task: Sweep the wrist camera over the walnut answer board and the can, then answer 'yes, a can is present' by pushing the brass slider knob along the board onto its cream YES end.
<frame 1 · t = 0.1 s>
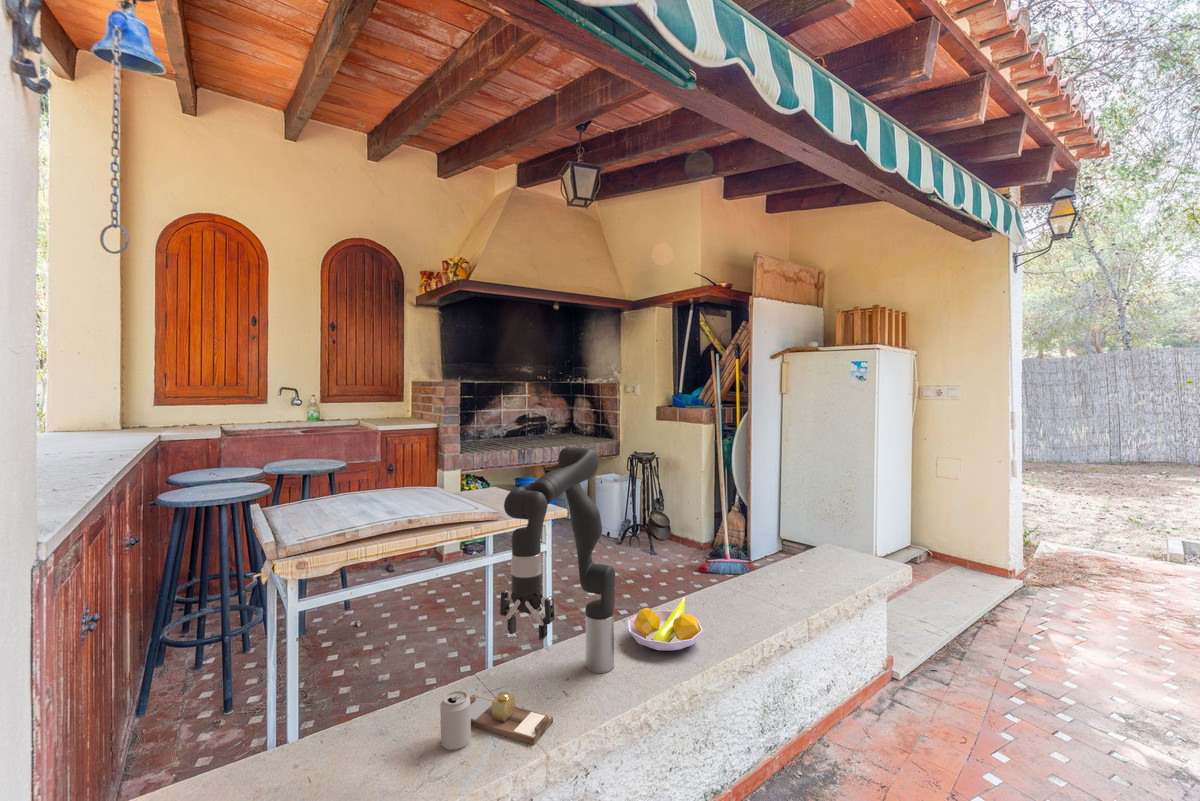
hand: (527, 635, 132), 29 cm above the table, fingers open, 8 cm apart
answer board: (503, 721, 145), on the table
brass knob: (503, 704, 145), point 5 cm above the table, slide at 0.0 cm
can: (455, 743, 137), on the table
fruit bowl: (666, 641, 192), on the table
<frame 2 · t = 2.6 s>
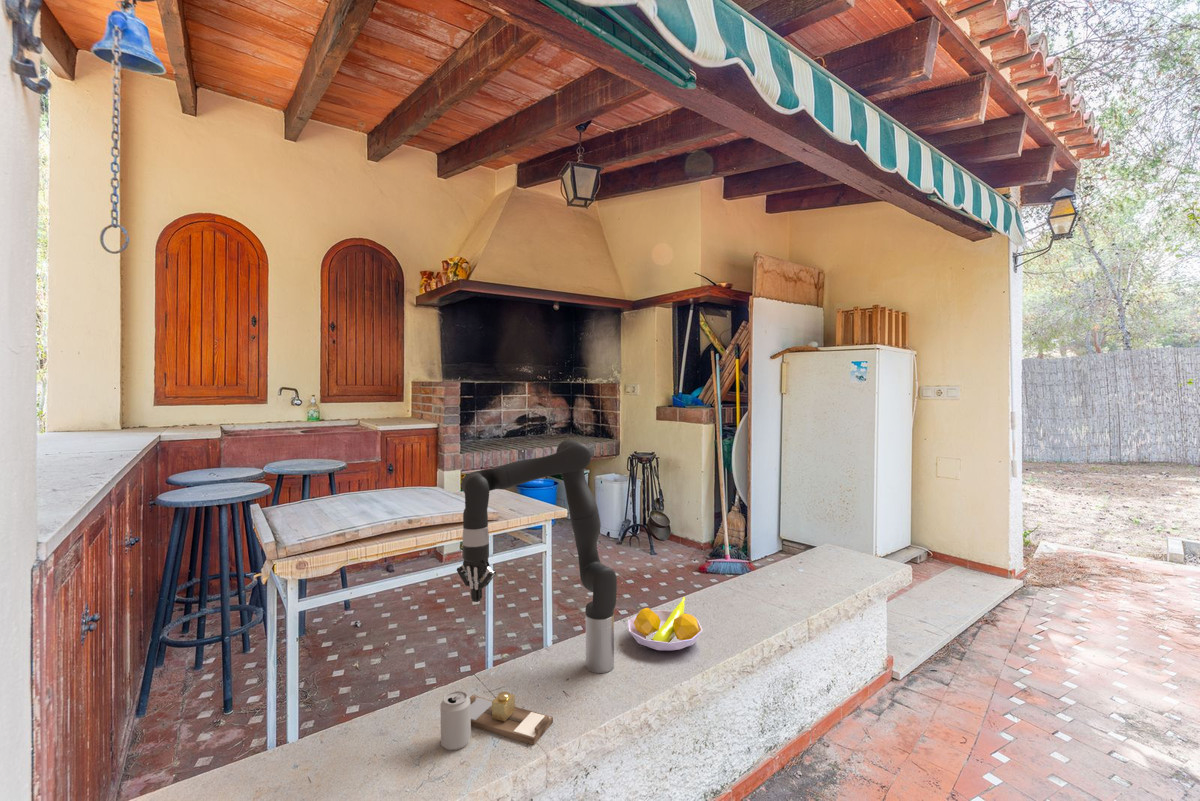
hand: (476, 600, 156), 29 cm above the table, fingers closed
nothing on the table moved.
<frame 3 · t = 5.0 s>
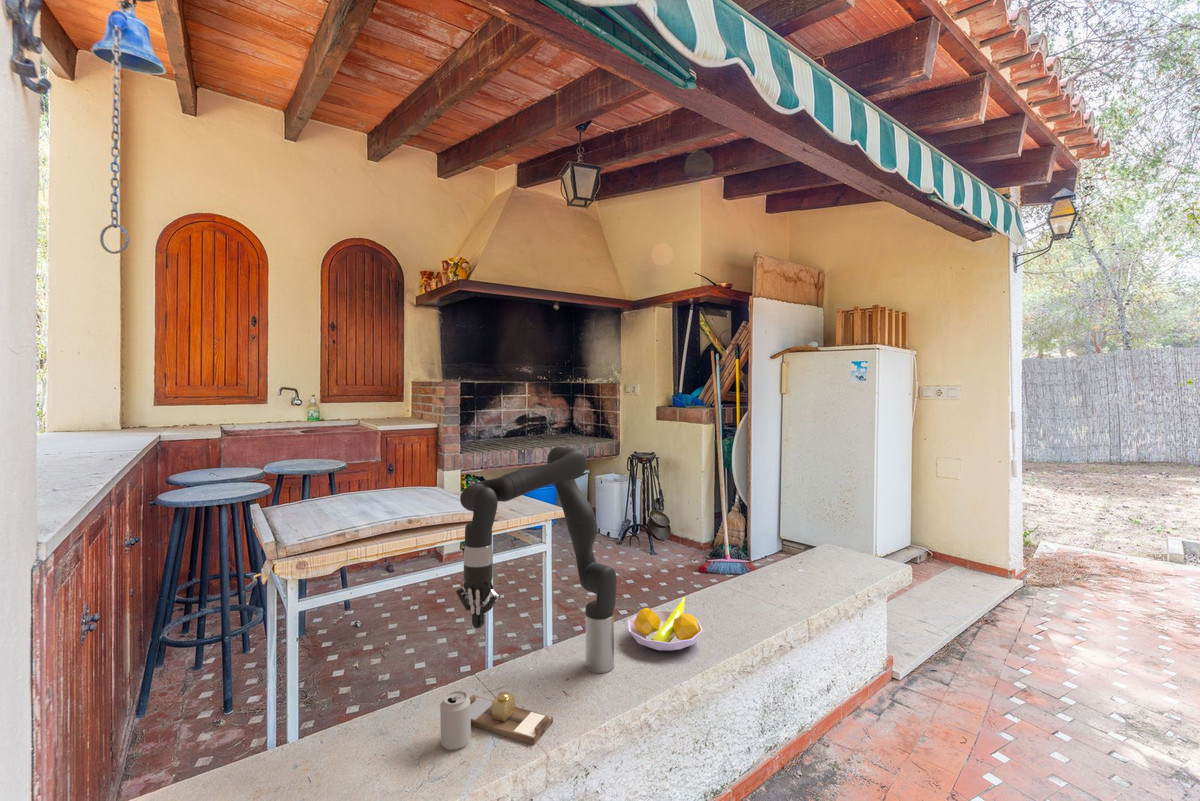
hand: (477, 626, 141), 28 cm above the table, fingers closed
nothing on the table moved.
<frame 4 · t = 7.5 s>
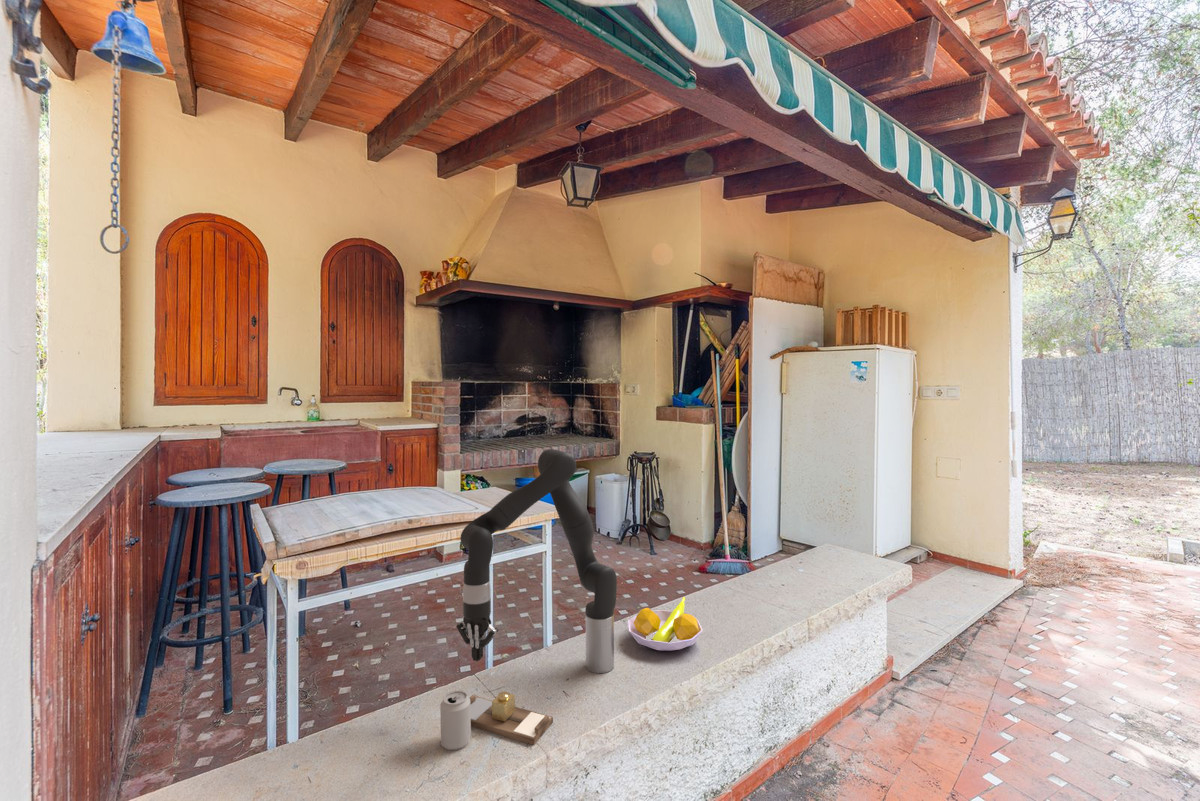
hand: (477, 659, 148), 15 cm above the table, fingers closed
nothing on the table moved.
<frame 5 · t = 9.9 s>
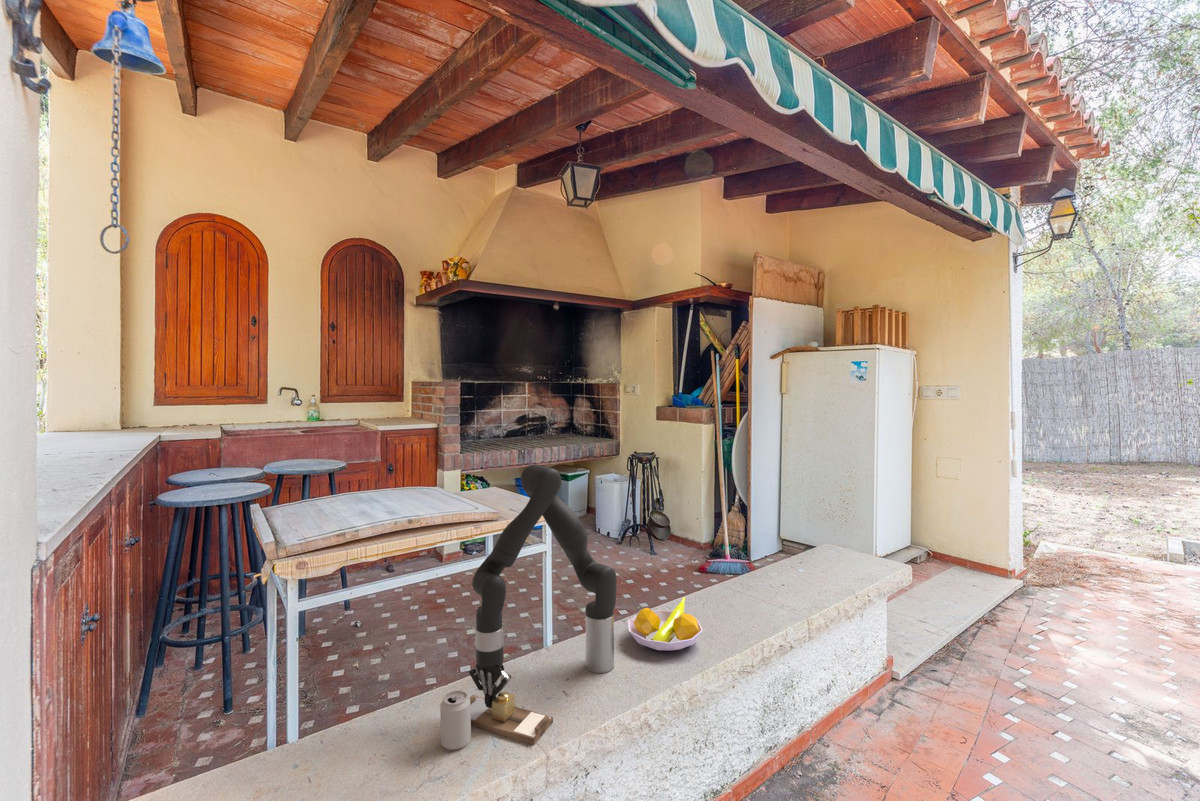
hand: (490, 706, 147), 3 cm above the table, fingers closed
brass knob: (503, 704, 145), point 5 cm above the table, slide at 0.0 cm, touching gripper
everything else where it was.
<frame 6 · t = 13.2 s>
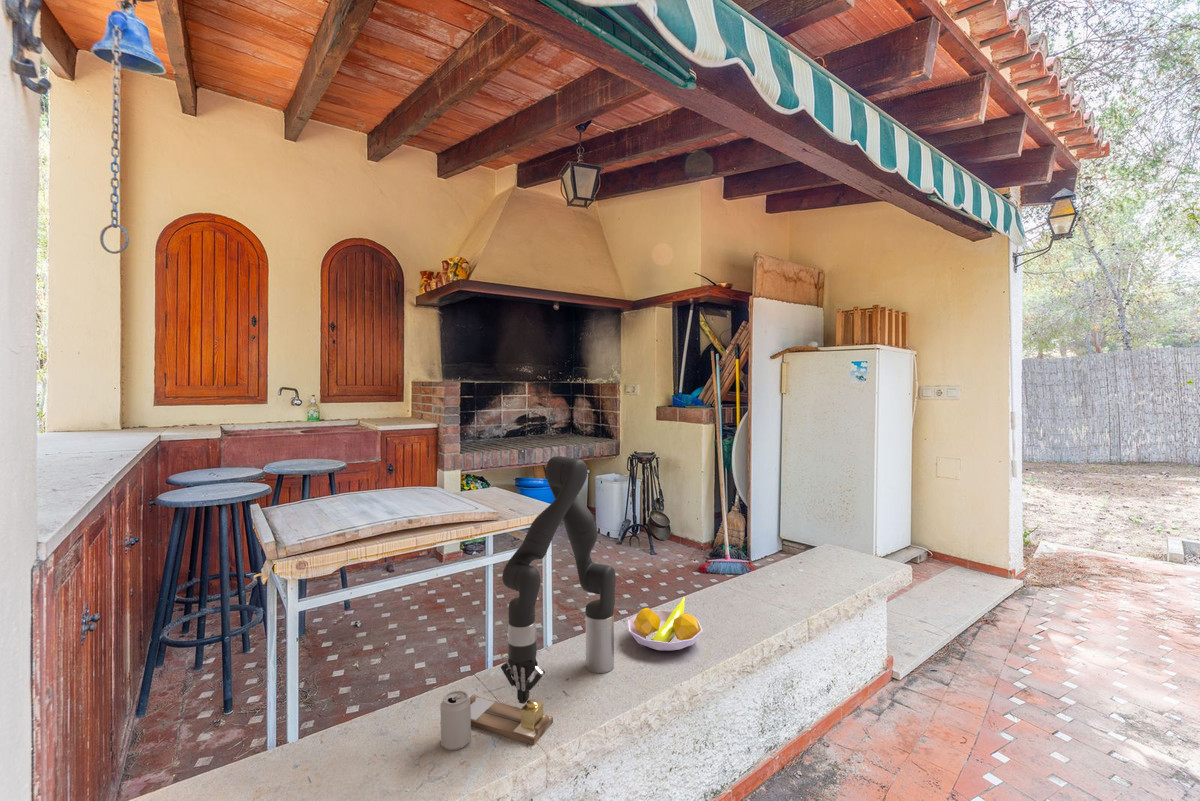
hand: (523, 701, 143), 7 cm above the table, fingers closed
brass knob: (532, 712, 142), point 5 cm above the table, slide at 9.0 cm
everything else where it was.
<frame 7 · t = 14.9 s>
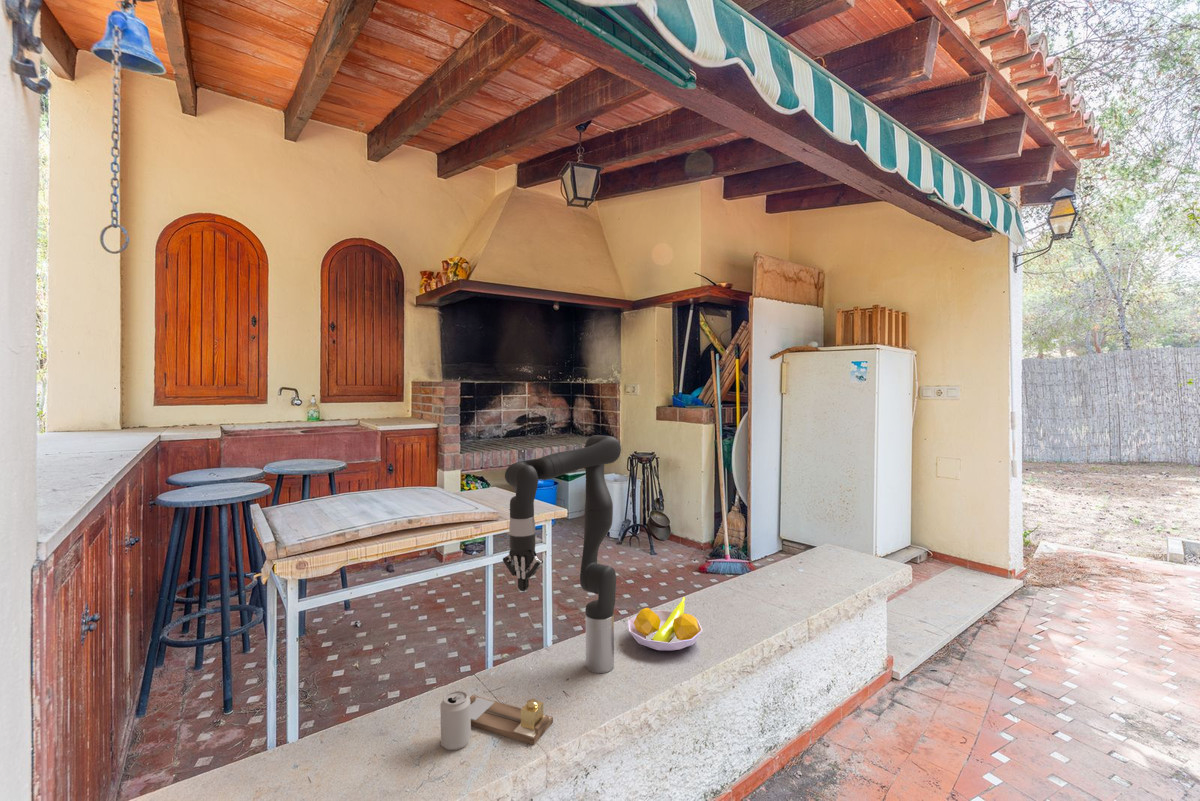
hand: (523, 590, 157), 32 cm above the table, fingers closed
nothing on the table moved.
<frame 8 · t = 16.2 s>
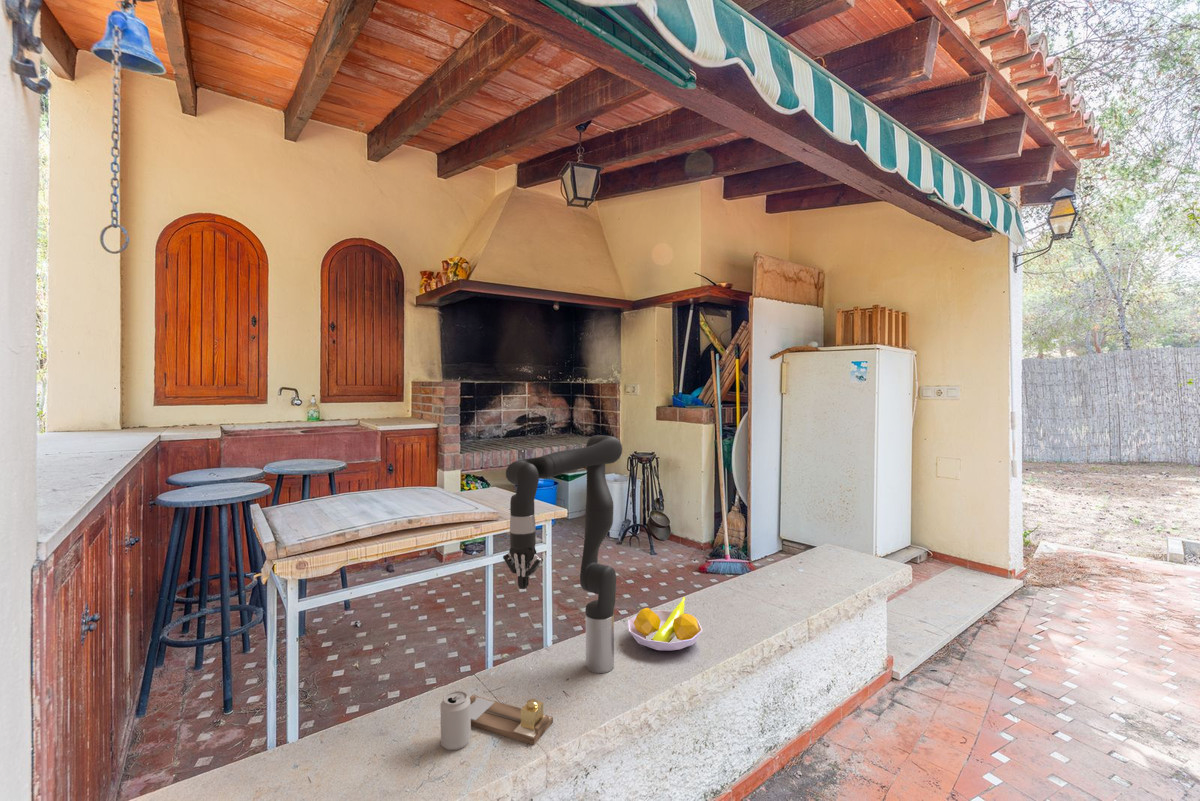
hand: (523, 588, 157), 32 cm above the table, fingers closed
nothing on the table moved.
at the end: brass knob slide at 9.0 cm; can moved 0.2 cm from its start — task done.
